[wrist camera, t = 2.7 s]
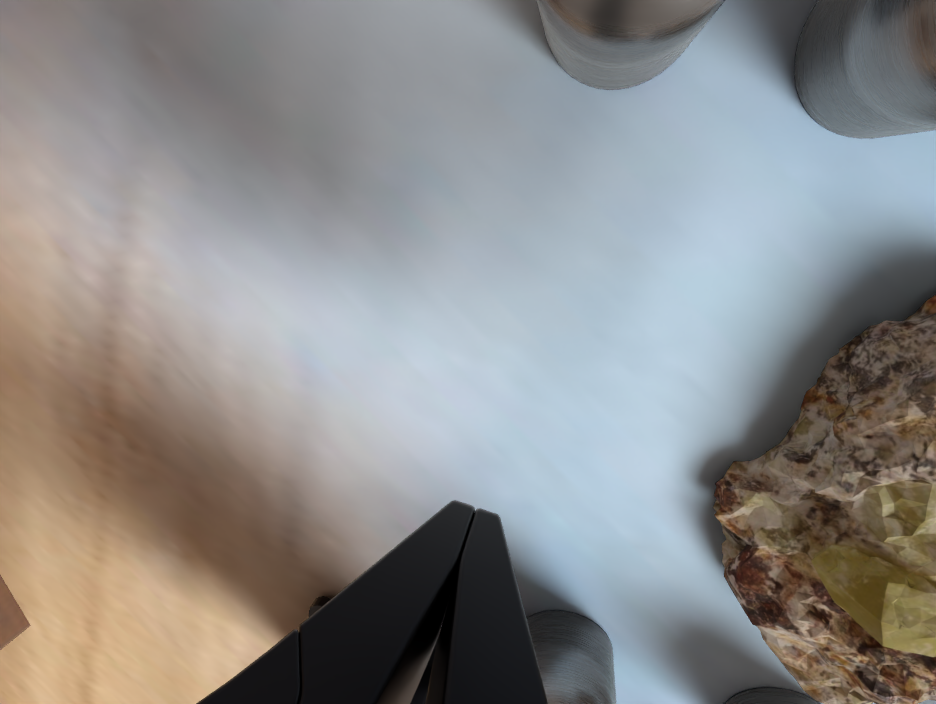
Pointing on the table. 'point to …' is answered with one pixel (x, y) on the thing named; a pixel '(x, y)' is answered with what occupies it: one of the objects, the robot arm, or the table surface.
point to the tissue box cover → (10, 616)
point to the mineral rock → (847, 524)
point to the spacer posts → (825, 99)
